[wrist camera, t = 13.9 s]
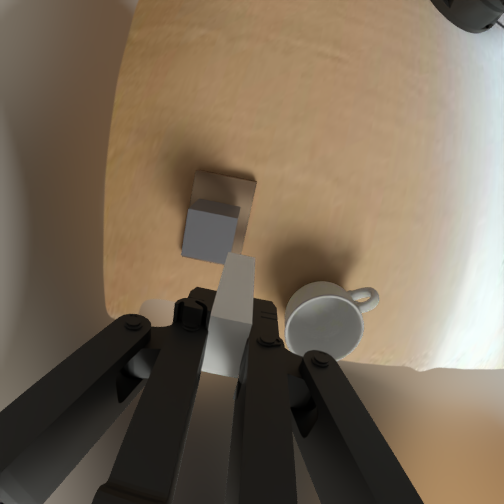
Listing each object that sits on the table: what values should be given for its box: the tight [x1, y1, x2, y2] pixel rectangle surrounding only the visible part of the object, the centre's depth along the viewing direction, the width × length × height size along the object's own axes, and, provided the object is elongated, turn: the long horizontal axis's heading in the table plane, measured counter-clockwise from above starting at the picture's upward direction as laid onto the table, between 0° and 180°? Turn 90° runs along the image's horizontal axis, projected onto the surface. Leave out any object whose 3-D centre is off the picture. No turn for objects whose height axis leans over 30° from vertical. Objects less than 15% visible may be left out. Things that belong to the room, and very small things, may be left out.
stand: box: [182, 170, 257, 265], centre depth 38 cm, size 12×8×8 cm, turn 168°
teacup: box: [285, 281, 379, 361], centre depth 42 cm, size 14×11×8 cm
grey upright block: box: [181, 199, 241, 264], centre depth 36 cm, size 5×5×7 cm
